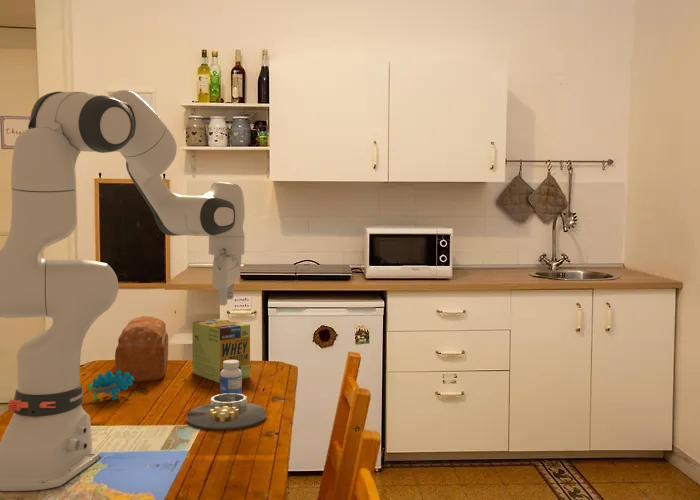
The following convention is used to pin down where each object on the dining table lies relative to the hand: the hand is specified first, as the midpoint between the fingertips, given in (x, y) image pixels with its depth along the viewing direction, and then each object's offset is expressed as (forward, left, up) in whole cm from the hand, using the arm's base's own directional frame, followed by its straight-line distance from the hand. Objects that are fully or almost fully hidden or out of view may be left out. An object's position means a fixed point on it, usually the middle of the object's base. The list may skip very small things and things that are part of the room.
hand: (226, 302), depth 173 cm
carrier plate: (-16, -2, -25) cm, 30 cm away
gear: (+4, +29, -26) cm, 39 cm away
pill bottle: (0, -1, -25) cm, 25 cm away
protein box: (+25, +5, -25) cm, 36 cm away
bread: (+31, +29, -25) cm, 49 cm away
